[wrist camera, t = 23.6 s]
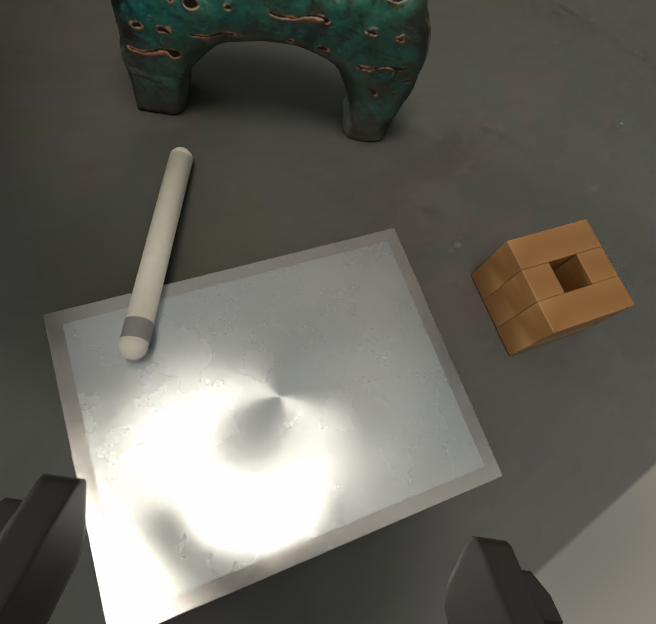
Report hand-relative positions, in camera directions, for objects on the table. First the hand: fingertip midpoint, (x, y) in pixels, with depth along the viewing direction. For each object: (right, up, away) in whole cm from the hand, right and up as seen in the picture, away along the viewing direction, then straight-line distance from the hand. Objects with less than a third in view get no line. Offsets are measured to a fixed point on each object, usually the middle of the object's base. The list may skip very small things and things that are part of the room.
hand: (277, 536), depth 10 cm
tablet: (-2, 0, +19) cm, 19 cm away
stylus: (-9, +2, +16) cm, 19 cm away
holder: (+15, +5, +24) cm, 29 cm away
